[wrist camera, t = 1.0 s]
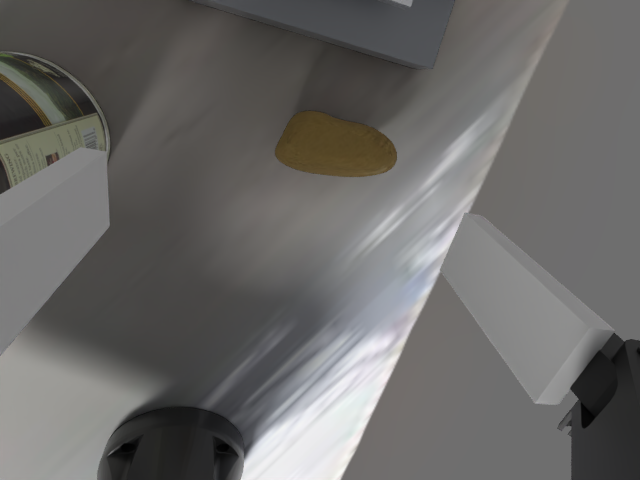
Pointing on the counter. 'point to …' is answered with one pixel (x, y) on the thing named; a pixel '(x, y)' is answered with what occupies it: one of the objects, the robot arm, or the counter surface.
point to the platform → (399, 3)
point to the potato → (334, 146)
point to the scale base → (356, 24)
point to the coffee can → (43, 117)
